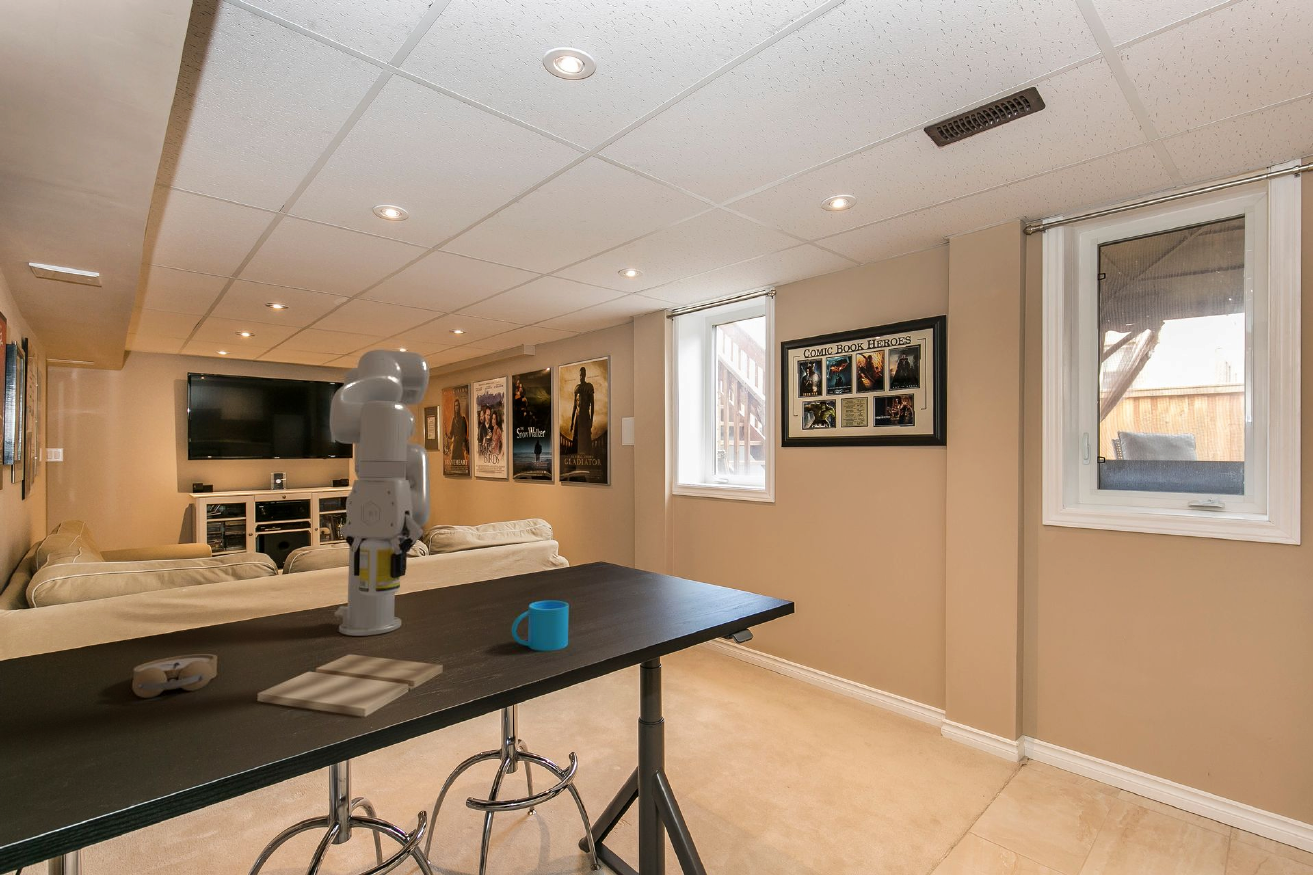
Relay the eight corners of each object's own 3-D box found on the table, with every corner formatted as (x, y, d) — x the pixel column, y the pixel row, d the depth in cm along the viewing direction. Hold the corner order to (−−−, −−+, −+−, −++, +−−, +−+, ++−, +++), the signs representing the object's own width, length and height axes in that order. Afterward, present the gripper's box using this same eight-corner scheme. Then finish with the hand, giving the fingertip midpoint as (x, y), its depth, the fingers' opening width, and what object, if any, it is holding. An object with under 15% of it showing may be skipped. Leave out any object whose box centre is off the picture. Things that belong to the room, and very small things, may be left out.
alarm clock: (218, 650, 112) (215, 658, 100) (217, 678, 111) (214, 690, 99) (138, 661, 106) (125, 671, 93) (137, 691, 105) (122, 705, 92)
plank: (257, 700, 96) (257, 693, 96) (308, 678, 106) (308, 671, 106) (365, 716, 91) (365, 708, 91) (408, 691, 101) (408, 684, 101)
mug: (558, 636, 133) (559, 598, 133) (574, 646, 126) (575, 607, 126) (504, 645, 126) (505, 605, 127) (518, 656, 119) (519, 614, 120)
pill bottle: (407, 590, 108) (409, 524, 108) (381, 597, 102) (383, 527, 102) (377, 587, 110) (379, 522, 110) (349, 594, 103) (352, 526, 104)
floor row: (311, 677, 107) (311, 670, 107) (349, 660, 115) (349, 654, 115) (410, 690, 102) (410, 682, 102) (442, 671, 110) (442, 665, 110)
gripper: (324, 471, 105) (320, 577, 104) (413, 472, 101) (410, 582, 100) (354, 471, 112) (351, 569, 111) (439, 472, 108) (437, 574, 107)
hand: (379, 574), depth 106 cm, fingers closed on pill bottle, 6 cm apart
